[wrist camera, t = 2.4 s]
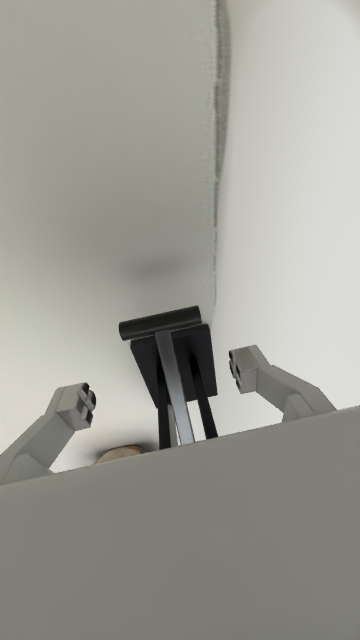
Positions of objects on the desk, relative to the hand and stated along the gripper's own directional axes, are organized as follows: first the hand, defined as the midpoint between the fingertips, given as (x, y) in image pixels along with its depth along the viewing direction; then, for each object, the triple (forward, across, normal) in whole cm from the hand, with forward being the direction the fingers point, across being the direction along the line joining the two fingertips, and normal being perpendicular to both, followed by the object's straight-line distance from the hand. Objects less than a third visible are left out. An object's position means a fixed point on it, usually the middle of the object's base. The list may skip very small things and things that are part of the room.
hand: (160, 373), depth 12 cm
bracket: (+11, 0, +11) cm, 15 cm away
